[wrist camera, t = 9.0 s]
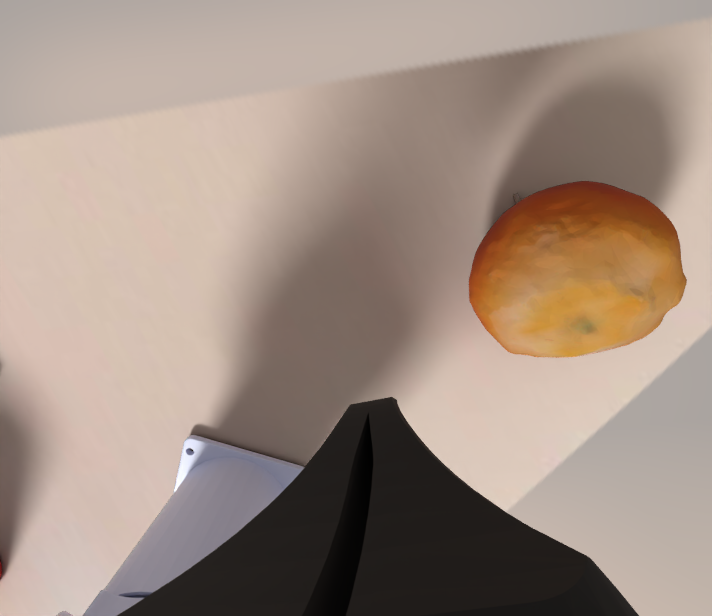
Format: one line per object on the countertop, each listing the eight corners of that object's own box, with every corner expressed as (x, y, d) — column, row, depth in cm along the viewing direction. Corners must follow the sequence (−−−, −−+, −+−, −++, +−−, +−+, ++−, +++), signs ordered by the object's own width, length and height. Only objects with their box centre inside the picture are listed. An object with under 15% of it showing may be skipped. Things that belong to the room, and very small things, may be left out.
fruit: (666, 163, 16) (797, 270, 10) (567, 288, 22) (618, 401, 16) (496, 128, 16) (536, 216, 10) (441, 262, 22) (448, 366, 16)
